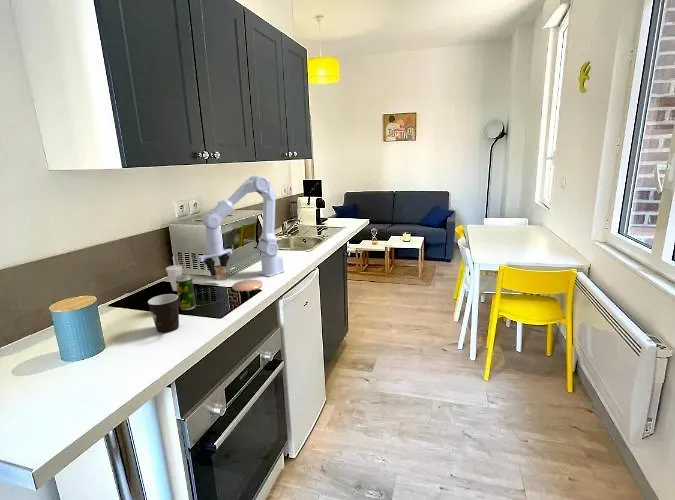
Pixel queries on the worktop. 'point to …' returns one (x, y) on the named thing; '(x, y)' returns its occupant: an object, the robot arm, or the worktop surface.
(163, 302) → the coffee mug
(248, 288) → the terracotta dish
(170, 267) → the smoothie
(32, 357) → the worktop surface
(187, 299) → the beer can
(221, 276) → the walnut block
